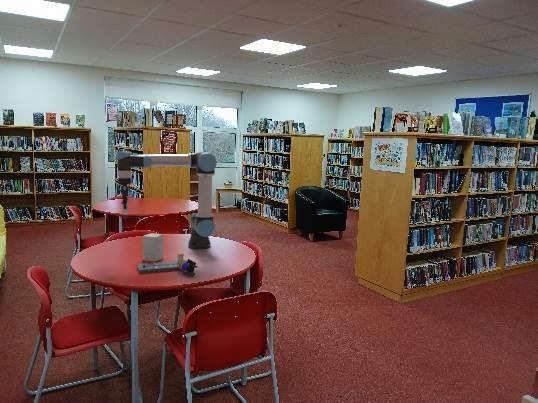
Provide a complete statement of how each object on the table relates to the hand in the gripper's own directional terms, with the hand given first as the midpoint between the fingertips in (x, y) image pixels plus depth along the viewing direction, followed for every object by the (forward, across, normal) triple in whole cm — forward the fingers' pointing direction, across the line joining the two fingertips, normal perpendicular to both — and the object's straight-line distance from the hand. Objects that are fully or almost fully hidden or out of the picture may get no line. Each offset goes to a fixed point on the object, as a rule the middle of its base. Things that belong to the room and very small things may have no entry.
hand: (125, 212), depth 248 cm
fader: (+25, +28, +29) cm, 48 cm away
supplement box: (+28, +8, +16) cm, 33 cm away
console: (+28, +28, +20) cm, 44 cm away
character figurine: (+28, +40, +32) cm, 58 cm away
